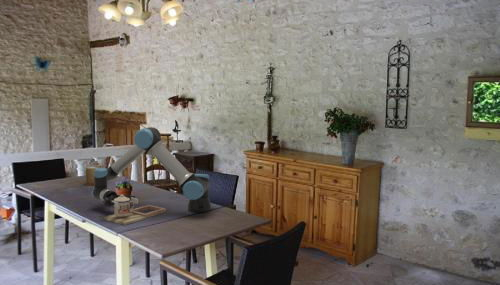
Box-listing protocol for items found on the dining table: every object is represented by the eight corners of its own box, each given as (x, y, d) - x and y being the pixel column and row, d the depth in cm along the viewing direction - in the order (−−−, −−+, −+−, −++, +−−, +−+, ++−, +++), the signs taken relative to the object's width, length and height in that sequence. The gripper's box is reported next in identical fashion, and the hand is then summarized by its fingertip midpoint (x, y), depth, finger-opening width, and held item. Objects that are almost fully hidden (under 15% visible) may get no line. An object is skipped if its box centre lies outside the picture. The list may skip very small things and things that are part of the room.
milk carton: (99, 186, 328) (99, 162, 326) (86, 185, 328) (85, 161, 326) (104, 183, 338) (104, 160, 336) (91, 183, 338) (91, 159, 336)
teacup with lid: (118, 217, 234) (117, 197, 233) (111, 214, 241) (110, 194, 240) (137, 214, 242) (137, 194, 241) (130, 210, 249) (130, 191, 248)
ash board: (145, 219, 243) (145, 216, 243) (124, 225, 231) (124, 222, 231) (124, 213, 253) (124, 211, 253) (103, 219, 241) (103, 216, 240)
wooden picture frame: (166, 211, 260) (166, 208, 260) (144, 218, 245) (144, 214, 245) (149, 207, 268) (149, 204, 268) (127, 213, 253) (127, 210, 253)
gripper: (126, 199, 262) (146, 206, 248) (89, 205, 245) (108, 213, 230) (126, 187, 262) (146, 193, 247) (89, 193, 244) (108, 200, 229)
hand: (127, 203), depth 238 cm, fingers closed on teacup with lid, 12 cm apart
